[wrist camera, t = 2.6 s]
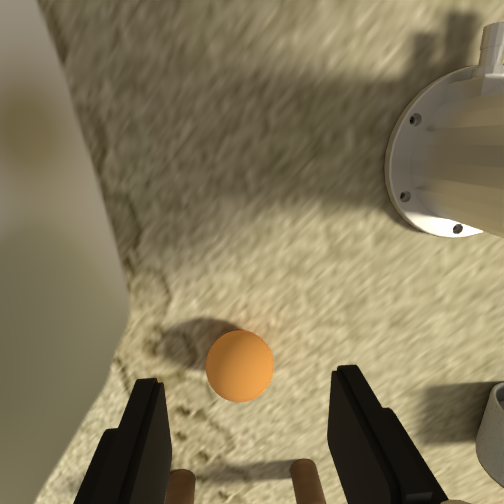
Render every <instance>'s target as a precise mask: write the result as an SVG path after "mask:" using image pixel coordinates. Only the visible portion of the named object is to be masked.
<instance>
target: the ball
mask: <svg viewBox="0 0 504 504" xmlns="http://www.w3.org/2000/svg"><path fill="white" fill-rule="evenodd" d="M273 370H274V362H273V356H272V353H271V350H270V348H269V347H268V345H267V344H266V342H265V341H264V340H263V339H262V338H261V337H259V336H258V335H256V334H254V333H252V332H249V331H244V330H237V331H231V332H228V333H226V334H224V335H223V336H221V337H220V338H219V339H217V340H216V341H215V343H214V344H213V345H212V347H211V348H210V350H209V353H208V355H207V359H206V374H207V378H208V381H209V383H210V385H211V387H212V388H213V389H214V391H215V392H216V393H217V394H218V395H220V396H221V397H222V398H224V399H226V400H229V401H232V402H246V401H250V400H252V399H255V398H256V397H258V396H259V395H261V394H262V393H263V392H264V391H265V390H266V388H267V387H268V385H269V383H270V381H271V379H272V376H273Z"/></svg>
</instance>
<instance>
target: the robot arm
mask: <svg viewBox="0 0 504 504" xmlns="http://www.w3.org/2000/svg"><path fill="white" fill-rule="evenodd" d="M480 51H481V52H480V58H479V64H478V65H475V66H469V67H465V68H462V69H459V70H456V71H453V72H450V73H448V74H446V75H444V76H442V77H440V78H438V79H436V80H435V81H433V82H432V83H431V84H429V85H428V86H427V87H425V88H424V89H423V90H421V91H420V92H419V93H418V94H417V95H416V96H415V98H414V99H413V100H412V101H411V102H410V103H409V104H408V105H407V107H406V108H405V110H404V111H403V113H402V114H401V115H400V117H399V118H398V120H397V122H396V125H395V127H394V129H393V131H392V133H391V135H390V139H389V142H388V146H387V149H386V155H385V164H384V172H385V184H386V187H387V191H388V195H389V198H390V200H391V202H392V203H393V205H394V207H395V209H396V210H397V212H398V213H399V214H400V215H401V216H402V218H403V219H404V220H405V221H407V222H408V223H409V224H411V225H412V226H413V227H415V228H417V229H419V230H421V231H423V232H425V233H428V234H431V235H434V236H437V237H445V238H460V237H468V236H471V235H475V234H479V233H481V232H487V233H490V234H493V235H496V236H499V237H502V238H504V64H503V65H501V63H502V58H503V53H504V22H498V23H493V24H490V25H487V26H485V27H484V29H483V35H482V40H481V46H480ZM410 117H411V119H412V121H411V123H410ZM401 193H402V196H401V197H400V195H401ZM327 440H328V446H329V449H330V452H331V455H332V458H333V461H334V464H335V467H336V470H337V473H338V476H339V479H340V482H341V485H342V488H343V491H344V494H345V496H346V499H347V502H348V504H471V503H468V502H465V501H462V500H449V499H448V497H447V496H446V494H445V493H444V491H443V489H442V488H441V486H440V485H439V483H438V482H437V480H436V478H435V477H434V475H433V474H432V472H431V470H430V469H429V467H428V466H427V464H426V462H425V461H424V459H423V458H422V456H421V454H420V453H419V451H418V450H417V448H416V446H415V445H414V443H413V442H412V440H411V438H410V437H409V435H408V434H407V432H406V430H405V429H404V427H403V426H402V424H401V422H400V421H399V419H398V418H397V416H396V414H395V413H394V412H393V411H392V409H390V408H382V406H381V404H380V403H379V401H378V399H377V398H376V396H375V394H374V393H373V391H372V389H371V387H370V386H369V384H368V382H367V381H366V379H365V377H364V376H363V374H362V372H361V371H360V369H359V367H358V366H357V365H341V366H338V367H337V371H332V375H331V389H330V403H329V417H328V431H327ZM171 461H172V444H171V437H170V429H169V421H168V413H167V406H166V398H165V390H164V384H163V382H161V383H158V381H157V378H146V379H137V380H136V382H135V385H134V387H133V390H132V393H131V395H130V398H129V401H128V403H127V406H126V408H125V411H124V414H123V416H122V419H121V422H120V424H119V427H118V428H113V429H106V430H105V431H104V433H103V435H102V437H101V439H100V442H99V444H98V446H97V449H96V451H95V453H94V456H93V458H92V460H91V463H90V465H89V468H88V470H87V472H86V475H85V477H84V479H83V482H82V484H81V486H80V489H79V491H78V493H77V496H76V498H75V501H74V503H73V504H164V502H165V496H166V490H167V485H168V479H169V473H170V467H171Z"/></svg>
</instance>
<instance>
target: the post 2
mask: <svg viewBox="0 0 504 504" xmlns="http://www.w3.org/2000/svg"><path fill="white" fill-rule="evenodd" d="M290 472H291V477H292V482H293V487H294V492H295V497H296V502H297V504H326V501H325V497H324V493H323V490H322V486H321V483H320V479H319V475H318V472H317V468H316V465H315V463H314V462H313V461H312V460H309V459H301V460H298V461H296V462H294V463H293V464H292V466H291V468H290Z"/></svg>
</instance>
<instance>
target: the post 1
mask: <svg viewBox="0 0 504 504" xmlns="http://www.w3.org/2000/svg"><path fill="white" fill-rule="evenodd" d="M195 480H196V478H195V475H194V474H193V473H192V472H191V471H189V470H185V469H181V470H176V471H174V472H173V473H171V474H170V476H169V479H168V485H167V491H166V497H165V503H164V504H193V503H194V491H195Z"/></svg>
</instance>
